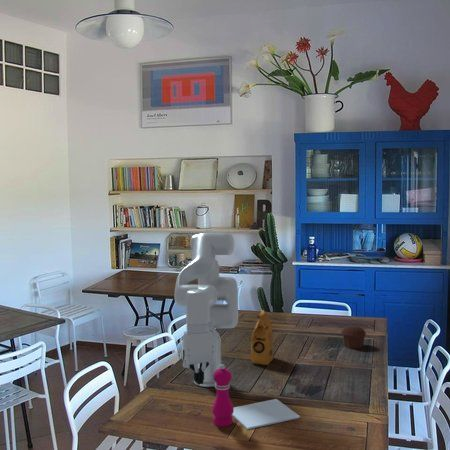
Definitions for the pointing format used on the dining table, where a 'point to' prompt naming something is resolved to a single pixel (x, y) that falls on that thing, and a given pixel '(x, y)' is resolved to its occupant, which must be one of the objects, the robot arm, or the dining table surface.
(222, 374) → the pepper mill
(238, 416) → the mat
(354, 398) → the dining table surface
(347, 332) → the muffin
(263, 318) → the coffee package
